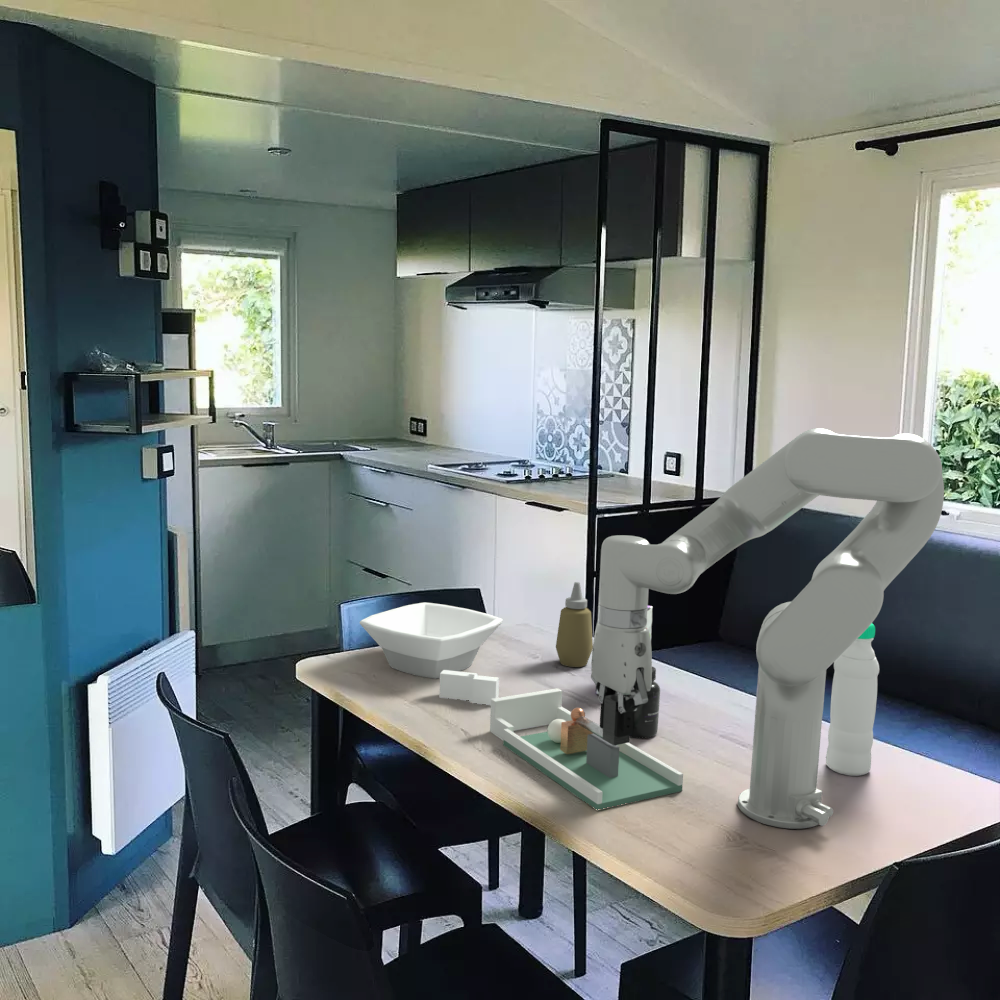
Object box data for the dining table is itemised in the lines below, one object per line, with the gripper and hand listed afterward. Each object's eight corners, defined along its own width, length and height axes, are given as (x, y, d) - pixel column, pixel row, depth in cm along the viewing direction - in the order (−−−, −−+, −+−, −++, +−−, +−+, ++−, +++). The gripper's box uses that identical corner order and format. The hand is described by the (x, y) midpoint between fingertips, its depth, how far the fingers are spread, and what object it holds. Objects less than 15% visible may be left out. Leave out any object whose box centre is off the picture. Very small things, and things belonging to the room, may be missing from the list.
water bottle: (816, 763, 172) (828, 618, 168) (849, 758, 174) (861, 615, 171) (845, 779, 165) (858, 629, 162) (879, 774, 168) (893, 626, 164)
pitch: (682, 790, 159) (684, 754, 158) (597, 810, 151) (599, 772, 150) (561, 719, 189) (562, 687, 188) (484, 732, 181) (485, 699, 180)
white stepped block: (423, 697, 199) (424, 669, 198) (470, 687, 206) (471, 660, 205) (469, 720, 188) (470, 690, 187) (517, 709, 195) (518, 679, 194)
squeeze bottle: (593, 670, 218) (597, 587, 216) (555, 668, 218) (559, 586, 216) (590, 659, 226) (594, 579, 224) (554, 657, 226) (557, 578, 224)
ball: (574, 744, 174) (576, 721, 173) (555, 748, 172) (556, 725, 171) (562, 736, 177) (563, 714, 177) (542, 739, 175) (543, 717, 175)
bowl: (348, 668, 214) (348, 621, 213) (423, 643, 235) (424, 599, 233) (439, 693, 201) (440, 642, 199) (511, 664, 221) (512, 617, 220)
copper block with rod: (632, 774, 161) (636, 698, 159) (606, 779, 158) (610, 702, 156) (584, 744, 172) (587, 673, 170) (559, 749, 170) (562, 677, 168)
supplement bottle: (656, 741, 179) (660, 675, 177) (617, 737, 180) (620, 671, 179) (658, 727, 186) (662, 663, 184) (620, 723, 187) (624, 660, 185)
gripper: (676, 627, 152) (668, 745, 155) (610, 602, 166) (604, 711, 169) (635, 632, 148) (628, 753, 151) (572, 606, 162) (566, 717, 165)
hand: (616, 730), depth 160 cm, fingers closed on copper block with rod, 3 cm apart
